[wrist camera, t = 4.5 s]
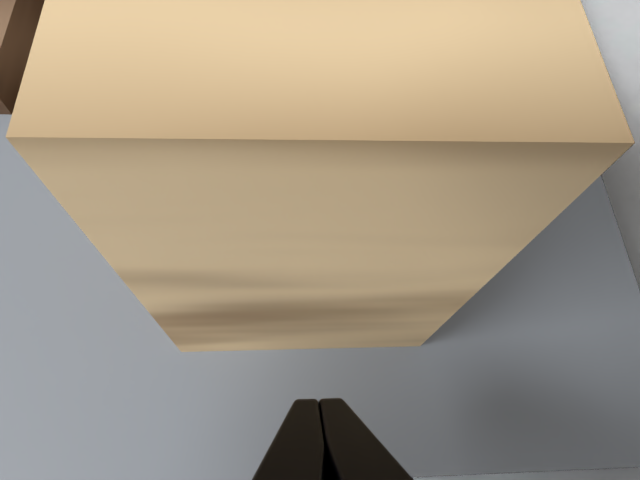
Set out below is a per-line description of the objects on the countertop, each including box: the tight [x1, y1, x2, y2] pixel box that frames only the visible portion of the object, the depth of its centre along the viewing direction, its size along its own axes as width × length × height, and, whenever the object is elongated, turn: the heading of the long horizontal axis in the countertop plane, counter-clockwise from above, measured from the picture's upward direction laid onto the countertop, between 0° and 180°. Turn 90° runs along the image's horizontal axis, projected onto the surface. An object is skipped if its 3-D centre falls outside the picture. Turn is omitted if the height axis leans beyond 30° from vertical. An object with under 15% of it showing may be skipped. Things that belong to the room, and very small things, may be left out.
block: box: [6, 0, 635, 352], centre depth 11 cm, size 7×7×10 cm
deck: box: [0, 114, 640, 480], centre depth 17 cm, size 12×22×2 cm, turn 92°
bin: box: [0, 0, 45, 115], centre depth 21 cm, size 12×22×4 cm, turn 92°
